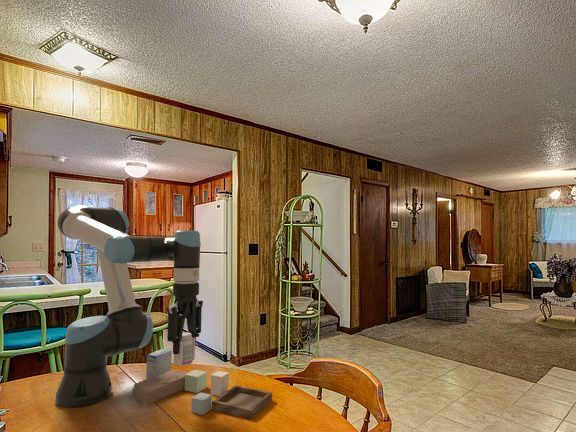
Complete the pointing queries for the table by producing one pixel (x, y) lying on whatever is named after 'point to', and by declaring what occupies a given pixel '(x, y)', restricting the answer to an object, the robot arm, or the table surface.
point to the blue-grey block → (201, 403)
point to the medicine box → (158, 363)
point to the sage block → (195, 381)
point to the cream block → (219, 383)
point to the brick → (159, 386)
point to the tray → (242, 401)
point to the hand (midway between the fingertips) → (184, 361)
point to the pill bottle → (187, 348)
